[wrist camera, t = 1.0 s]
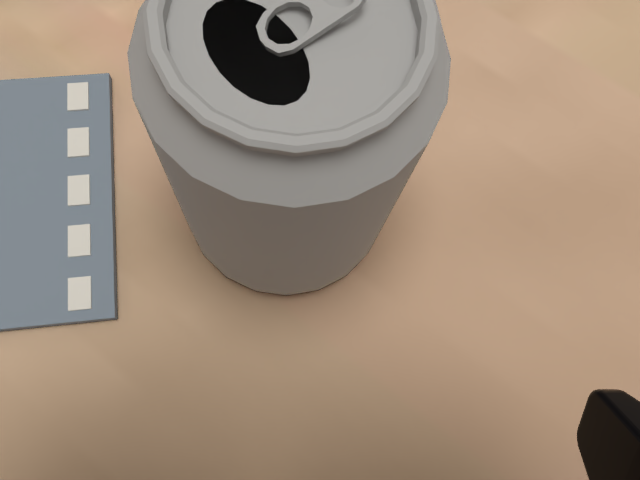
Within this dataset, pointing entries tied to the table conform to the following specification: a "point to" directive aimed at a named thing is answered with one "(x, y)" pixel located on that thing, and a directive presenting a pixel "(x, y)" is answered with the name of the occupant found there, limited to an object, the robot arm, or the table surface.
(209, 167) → the can
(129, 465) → the table surface
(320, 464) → the table surface
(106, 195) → the mat
